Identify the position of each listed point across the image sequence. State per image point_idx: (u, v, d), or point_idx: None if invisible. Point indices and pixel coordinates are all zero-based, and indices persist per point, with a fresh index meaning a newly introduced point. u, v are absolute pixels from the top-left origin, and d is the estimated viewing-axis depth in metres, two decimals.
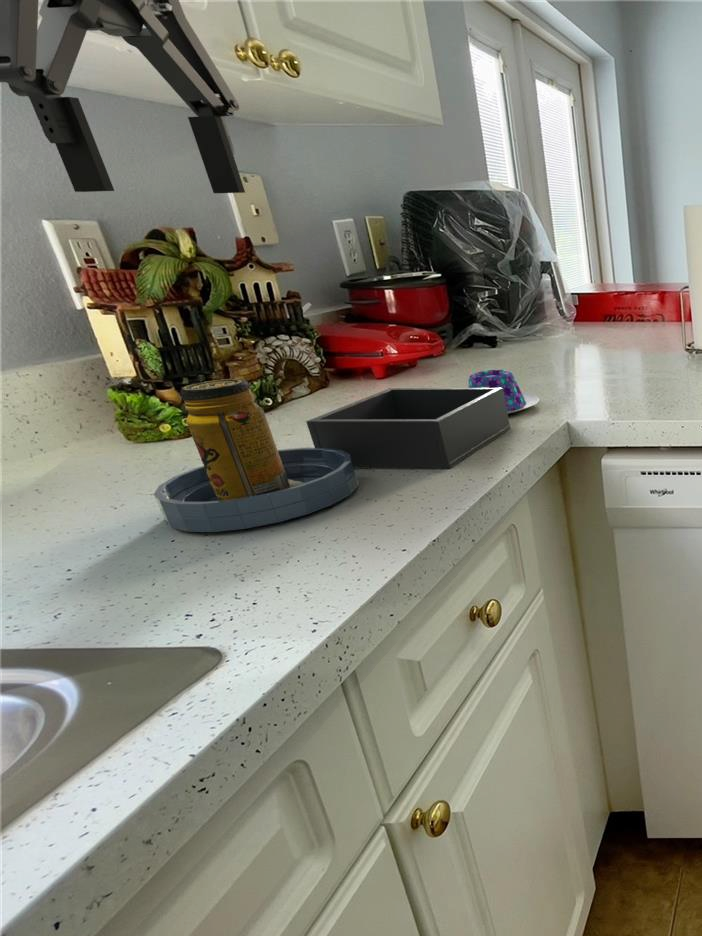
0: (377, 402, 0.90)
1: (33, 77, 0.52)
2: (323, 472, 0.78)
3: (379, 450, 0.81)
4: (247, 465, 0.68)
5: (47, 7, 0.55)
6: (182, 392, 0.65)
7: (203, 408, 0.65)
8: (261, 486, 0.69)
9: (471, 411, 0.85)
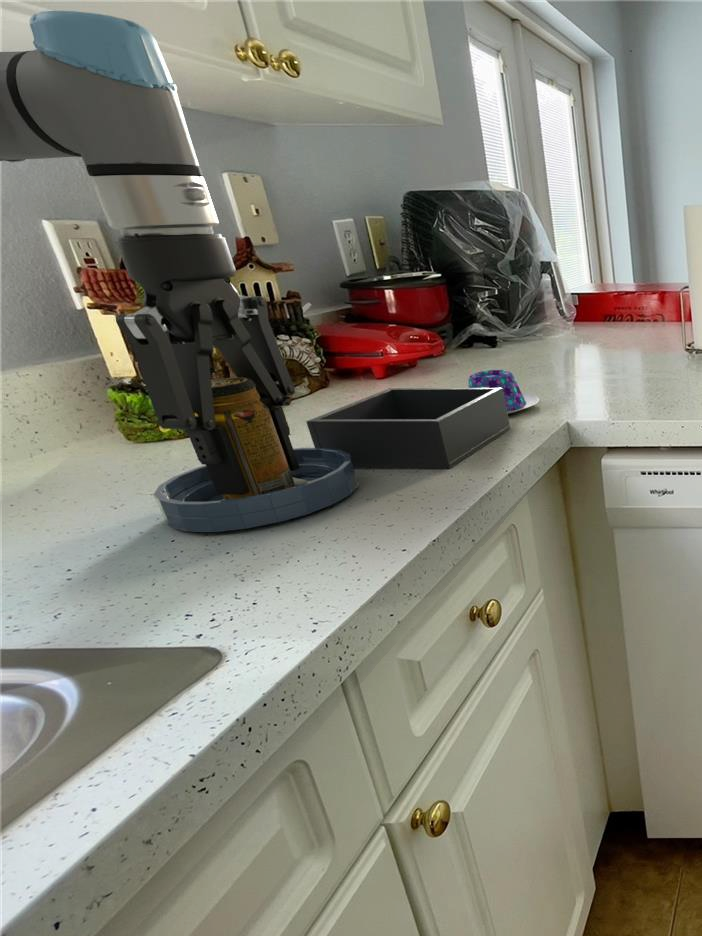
0: (377, 402, 0.90)
1: (195, 422, 0.63)
2: (323, 472, 0.78)
3: (379, 450, 0.81)
4: (252, 463, 0.69)
5: (171, 343, 0.63)
6: None
7: None
8: (266, 484, 0.70)
9: (471, 411, 0.85)
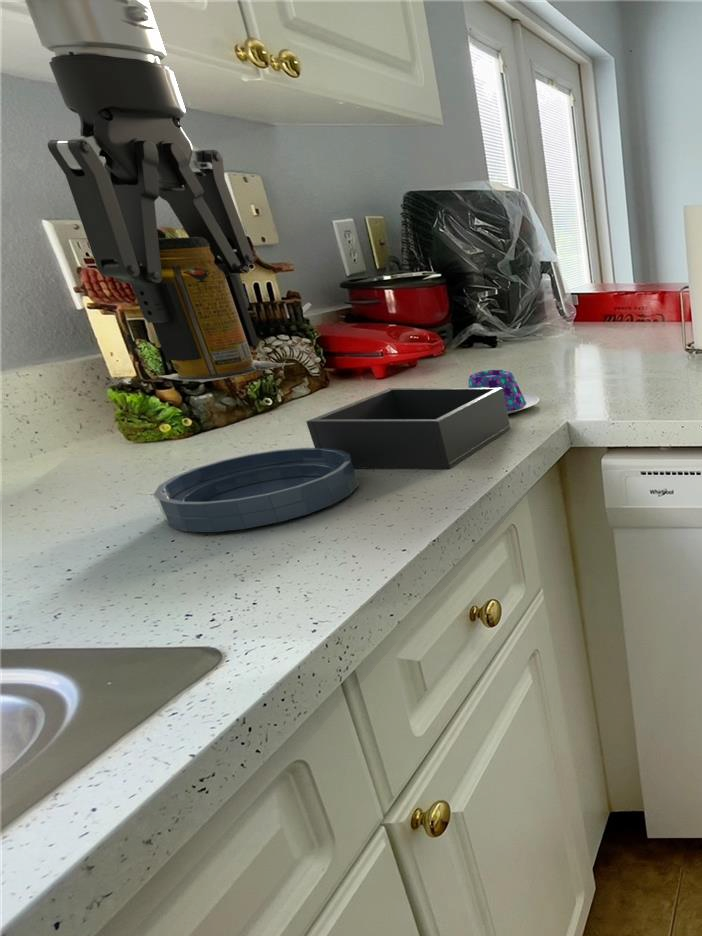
0: (377, 402, 0.90)
1: (138, 270, 0.58)
2: (323, 472, 0.78)
3: (379, 450, 0.81)
4: (204, 328, 0.64)
5: (113, 184, 0.58)
6: None
7: None
8: (220, 353, 0.65)
9: (471, 411, 0.85)
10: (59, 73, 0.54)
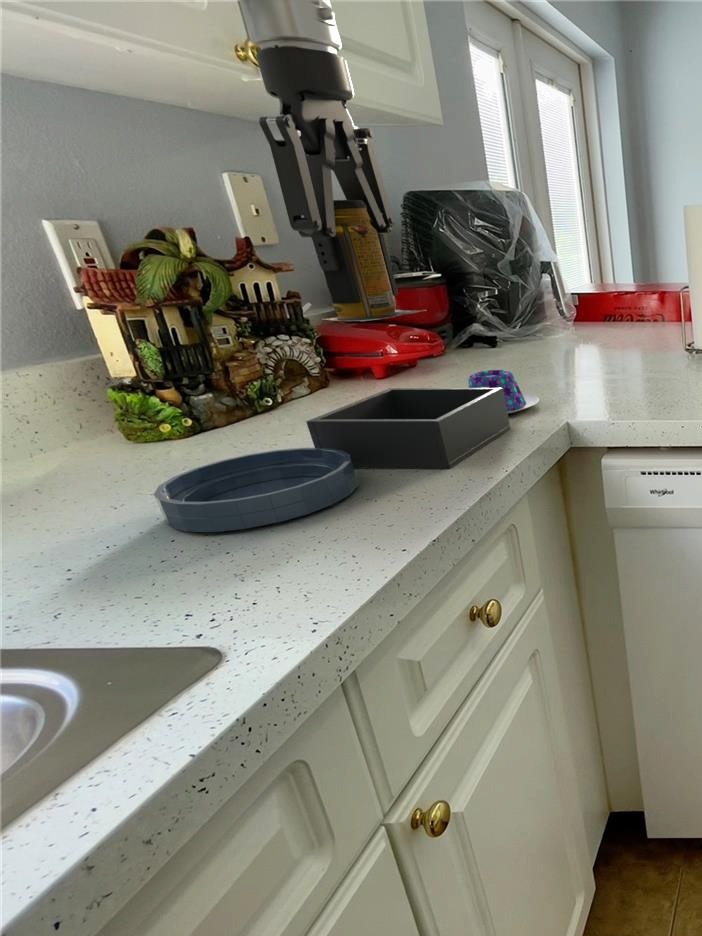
0: (377, 402, 0.90)
1: (321, 225, 0.71)
2: (323, 472, 0.78)
3: (379, 450, 0.81)
4: (364, 276, 0.76)
5: None
6: None
7: None
8: (375, 298, 0.77)
9: (471, 411, 0.85)
10: (265, 63, 0.67)
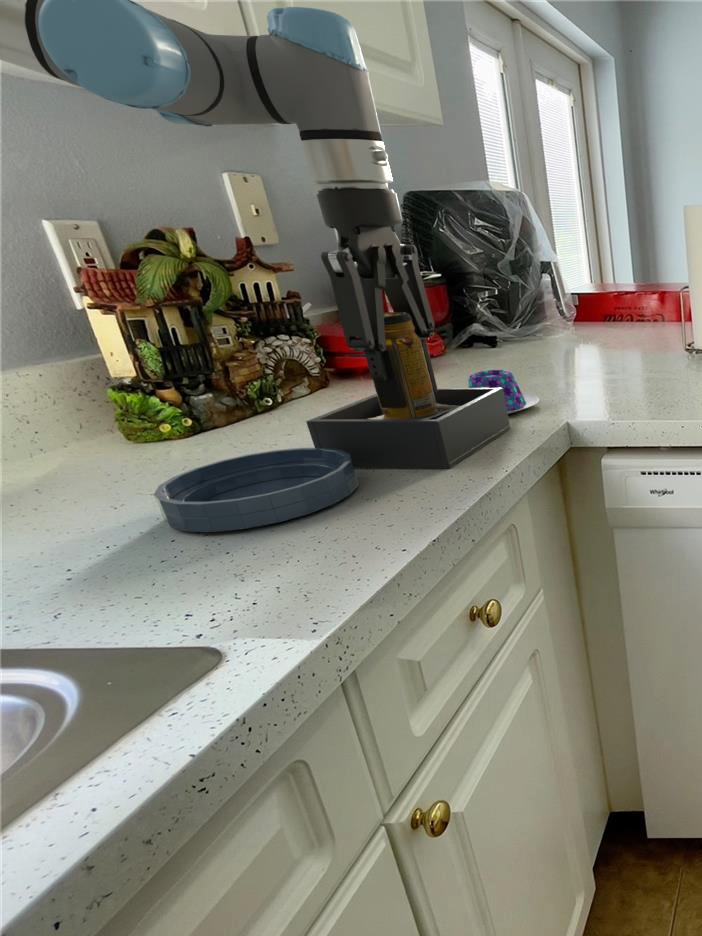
0: (377, 402, 0.90)
1: (373, 343, 0.78)
2: (323, 472, 0.78)
3: (379, 450, 0.81)
4: (410, 382, 0.83)
5: None
6: None
7: None
8: (419, 401, 0.84)
9: (471, 411, 0.85)
10: (326, 202, 0.74)
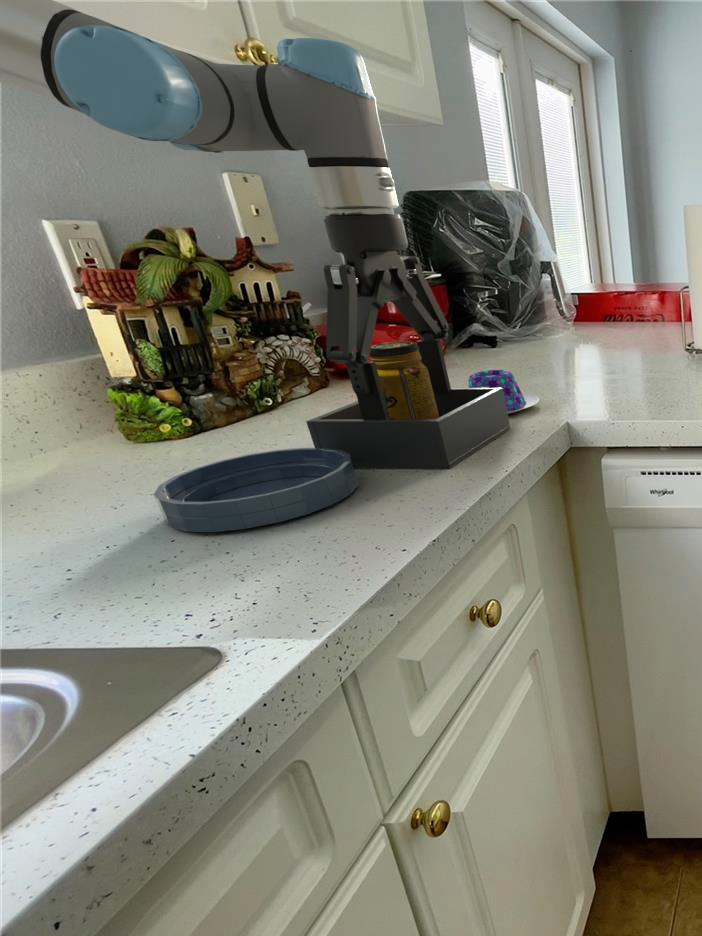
0: None
1: (355, 357, 0.75)
2: (323, 472, 0.78)
3: (379, 450, 0.81)
4: (417, 411, 0.84)
5: None
6: (371, 350, 0.81)
7: (388, 363, 0.81)
8: None
9: (471, 411, 0.85)
10: (333, 227, 0.75)
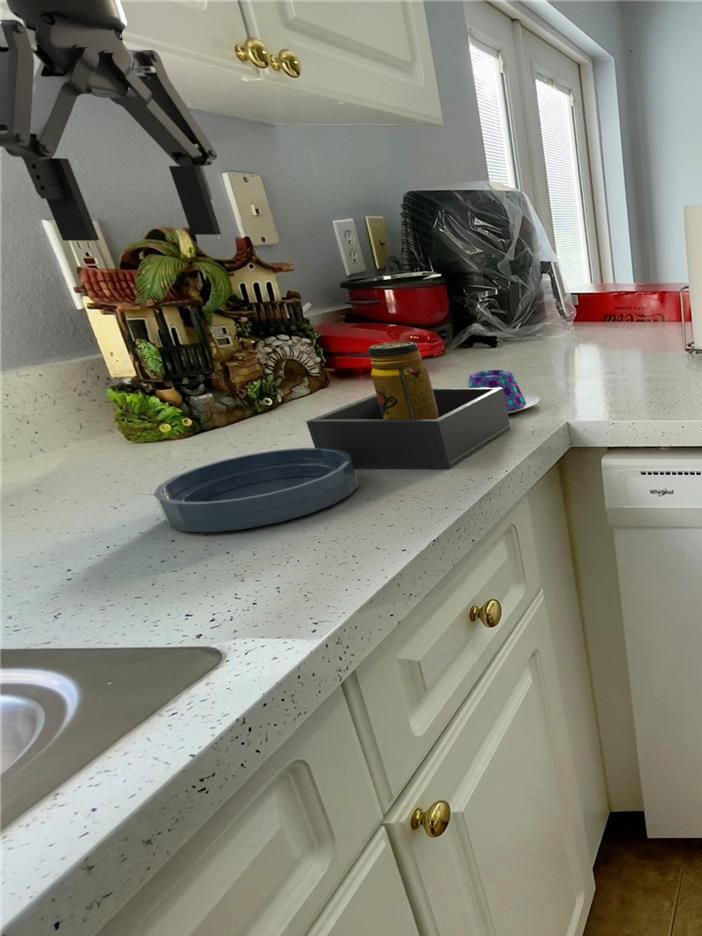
0: (377, 402, 0.90)
1: (27, 142, 0.58)
2: (323, 472, 0.78)
3: (379, 450, 0.81)
4: (417, 411, 0.84)
5: (41, 76, 0.61)
6: (371, 350, 0.81)
7: (388, 363, 0.81)
8: None
9: (471, 411, 0.85)
10: None
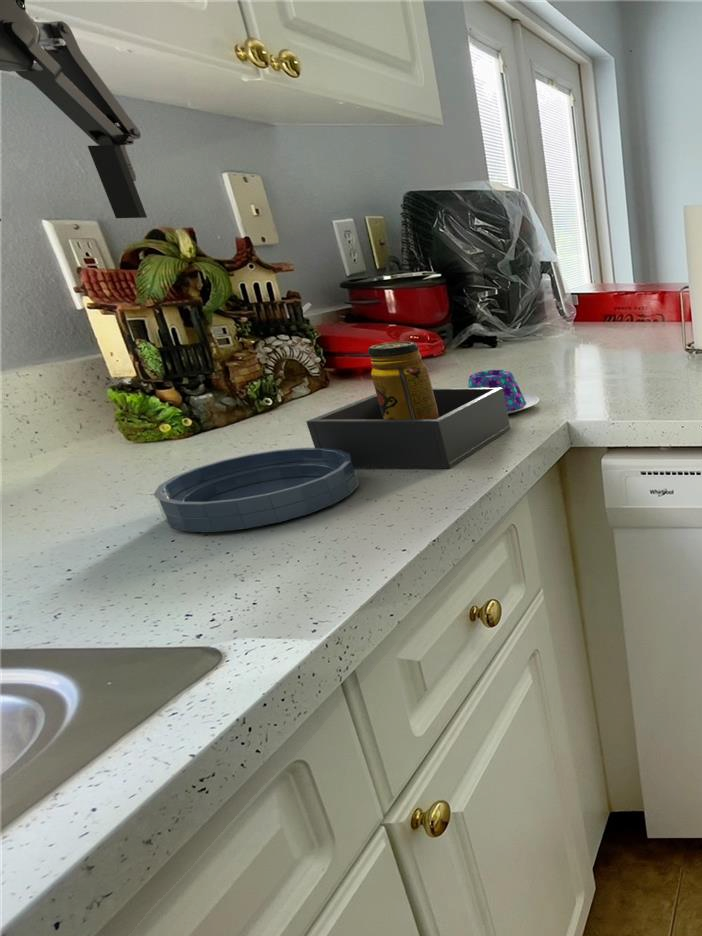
0: (377, 402, 0.90)
1: None
2: (323, 472, 0.78)
3: (379, 450, 0.81)
4: (417, 411, 0.84)
5: None
6: (371, 350, 0.81)
7: (388, 363, 0.81)
8: None
9: (471, 411, 0.85)
10: None
